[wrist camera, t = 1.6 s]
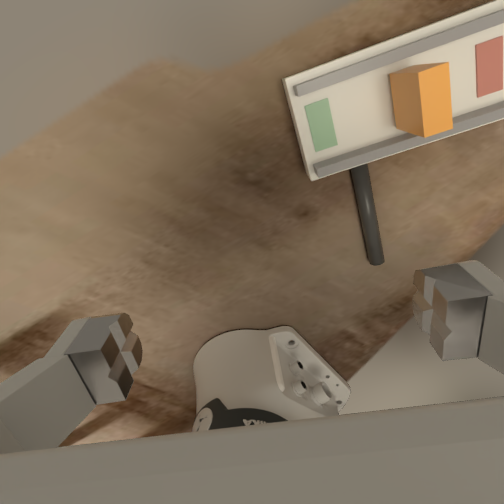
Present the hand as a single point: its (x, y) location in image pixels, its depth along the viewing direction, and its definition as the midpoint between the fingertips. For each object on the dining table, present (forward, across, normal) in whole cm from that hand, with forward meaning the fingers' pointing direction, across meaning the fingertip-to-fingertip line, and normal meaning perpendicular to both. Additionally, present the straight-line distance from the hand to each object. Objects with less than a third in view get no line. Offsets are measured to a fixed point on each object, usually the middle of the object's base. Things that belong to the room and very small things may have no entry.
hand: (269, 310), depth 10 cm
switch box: (+27, -13, +4) cm, 30 cm away
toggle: (+23, -13, -2) cm, 26 cm away
